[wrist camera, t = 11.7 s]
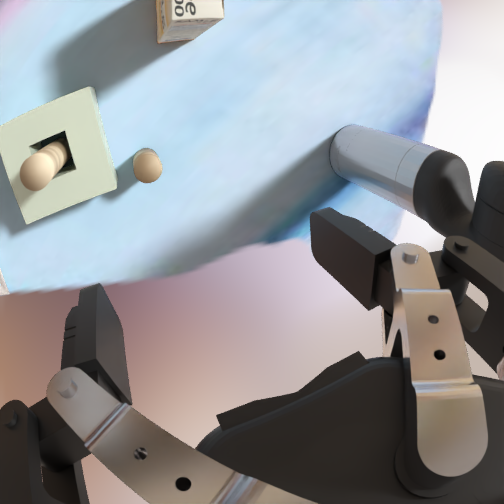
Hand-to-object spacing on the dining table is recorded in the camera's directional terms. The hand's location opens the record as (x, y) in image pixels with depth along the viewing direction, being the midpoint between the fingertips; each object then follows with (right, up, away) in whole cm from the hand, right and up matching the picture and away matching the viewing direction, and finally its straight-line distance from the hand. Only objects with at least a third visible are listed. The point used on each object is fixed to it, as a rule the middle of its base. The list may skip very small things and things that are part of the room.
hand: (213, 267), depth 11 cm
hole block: (-22, +13, +20) cm, 32 cm away
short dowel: (-12, +12, +25) cm, 30 cm away
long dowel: (-22, +13, +20) cm, 32 cm away
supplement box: (-8, +29, +17) cm, 35 cm away
